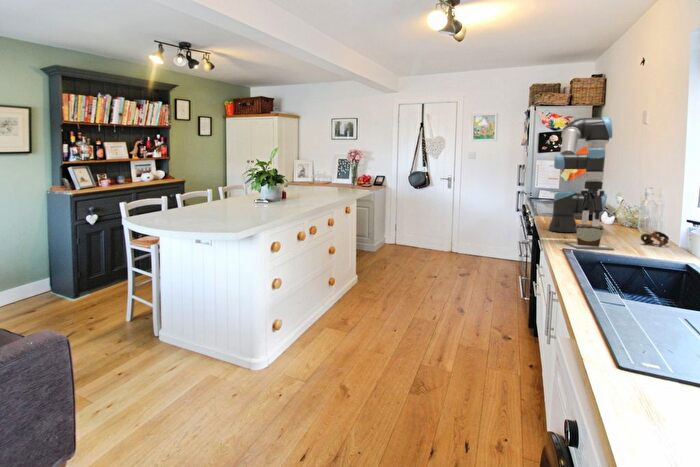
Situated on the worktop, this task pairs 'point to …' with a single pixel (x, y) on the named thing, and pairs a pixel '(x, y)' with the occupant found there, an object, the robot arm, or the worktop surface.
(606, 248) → the board
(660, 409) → the worktop surface
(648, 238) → the brown looped knot
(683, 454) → the worktop surface
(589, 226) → the food container
